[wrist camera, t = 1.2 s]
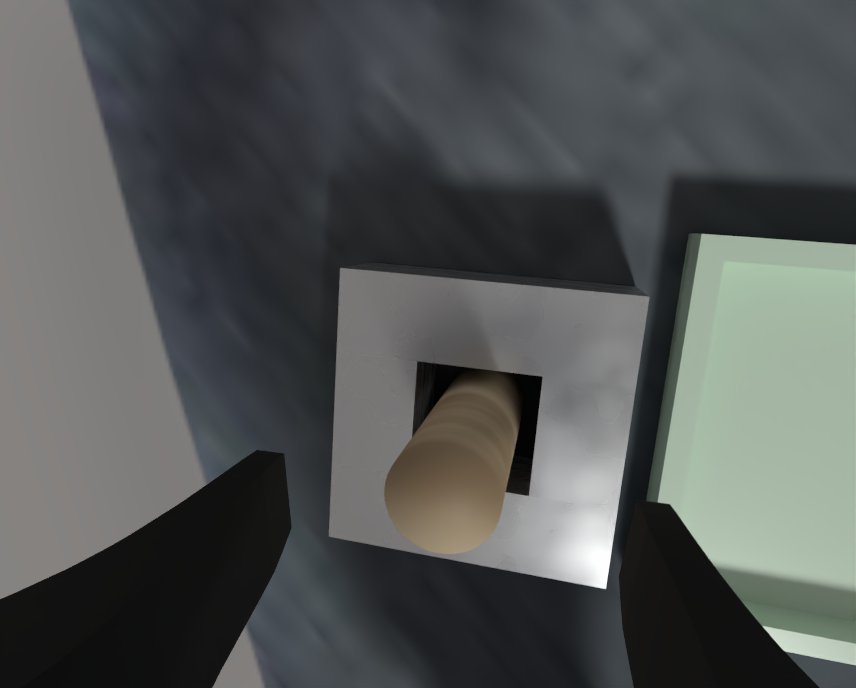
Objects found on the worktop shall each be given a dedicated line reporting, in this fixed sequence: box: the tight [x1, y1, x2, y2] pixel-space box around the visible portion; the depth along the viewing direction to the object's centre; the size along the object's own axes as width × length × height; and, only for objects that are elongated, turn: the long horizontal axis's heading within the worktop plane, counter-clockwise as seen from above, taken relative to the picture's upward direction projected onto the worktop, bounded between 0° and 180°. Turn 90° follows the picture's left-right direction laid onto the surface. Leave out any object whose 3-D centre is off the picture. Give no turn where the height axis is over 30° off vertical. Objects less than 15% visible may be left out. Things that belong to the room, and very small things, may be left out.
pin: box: [384, 367, 524, 554], centre depth 19 cm, size 3×3×9 cm
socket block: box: [329, 263, 649, 589], centre depth 22 cm, size 10×10×4 cm
